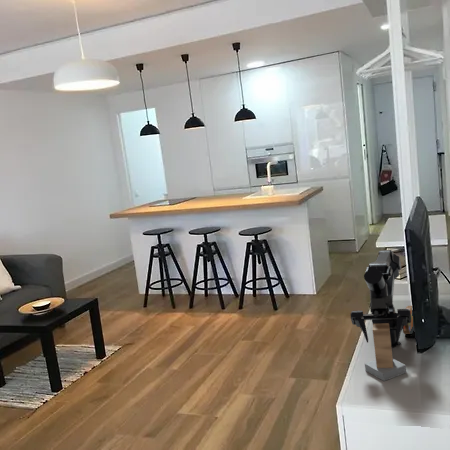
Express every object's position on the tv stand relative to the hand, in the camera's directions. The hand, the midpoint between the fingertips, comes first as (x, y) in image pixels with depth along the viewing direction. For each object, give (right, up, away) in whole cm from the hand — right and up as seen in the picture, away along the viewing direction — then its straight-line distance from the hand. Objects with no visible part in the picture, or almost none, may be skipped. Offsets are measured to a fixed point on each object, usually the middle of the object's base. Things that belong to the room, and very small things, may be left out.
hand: (382, 341), depth 161 cm
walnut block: (+1, -8, +2) cm, 8 cm away
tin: (+20, -3, +30) cm, 36 cm away
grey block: (+2, -10, +2) cm, 10 cm away
